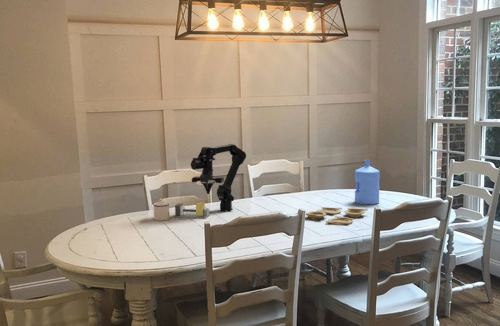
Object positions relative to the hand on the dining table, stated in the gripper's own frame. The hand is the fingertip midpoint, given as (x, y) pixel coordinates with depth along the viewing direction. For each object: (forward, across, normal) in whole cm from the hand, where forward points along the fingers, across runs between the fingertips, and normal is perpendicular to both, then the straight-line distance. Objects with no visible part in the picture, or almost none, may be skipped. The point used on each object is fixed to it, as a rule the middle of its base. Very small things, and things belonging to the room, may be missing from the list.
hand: (208, 194), depth 278 cm
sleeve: (+11, -2, -7) cm, 13 cm away
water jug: (+12, +92, +50) cm, 105 cm away
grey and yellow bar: (+12, -7, -7) cm, 16 cm away
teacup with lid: (+13, -24, -15) cm, 31 cm away
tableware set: (+12, +74, +6) cm, 75 cm away
